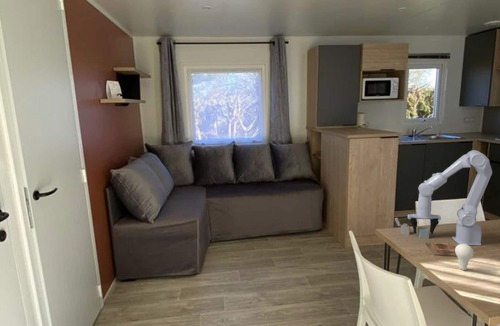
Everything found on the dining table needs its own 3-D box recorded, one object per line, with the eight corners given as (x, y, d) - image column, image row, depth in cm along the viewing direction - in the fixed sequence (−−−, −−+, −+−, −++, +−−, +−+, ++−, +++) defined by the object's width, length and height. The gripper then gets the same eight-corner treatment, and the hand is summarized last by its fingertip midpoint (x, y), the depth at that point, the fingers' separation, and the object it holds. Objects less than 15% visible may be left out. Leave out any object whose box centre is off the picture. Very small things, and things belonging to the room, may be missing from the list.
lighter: (409, 233, 159) (410, 219, 158) (409, 234, 158) (409, 220, 157) (394, 231, 164) (395, 217, 162) (394, 232, 162) (394, 218, 161)
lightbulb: (466, 275, 119) (468, 249, 117) (450, 268, 124) (452, 243, 123) (475, 271, 122) (477, 245, 120) (459, 264, 127) (460, 239, 125)
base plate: (451, 245, 144) (452, 241, 143) (462, 257, 133) (462, 252, 133) (426, 244, 146) (426, 240, 146) (434, 255, 136) (434, 251, 135)
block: (426, 235, 156) (426, 227, 156) (428, 238, 153) (429, 230, 152) (417, 235, 157) (417, 226, 157) (420, 238, 154) (420, 230, 153)
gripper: (437, 204, 154) (436, 230, 157) (406, 204, 158) (405, 229, 160) (443, 209, 148) (441, 235, 150) (410, 208, 151) (409, 234, 153)
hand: (423, 232), depth 155 cm, fingers open, 7 cm apart
